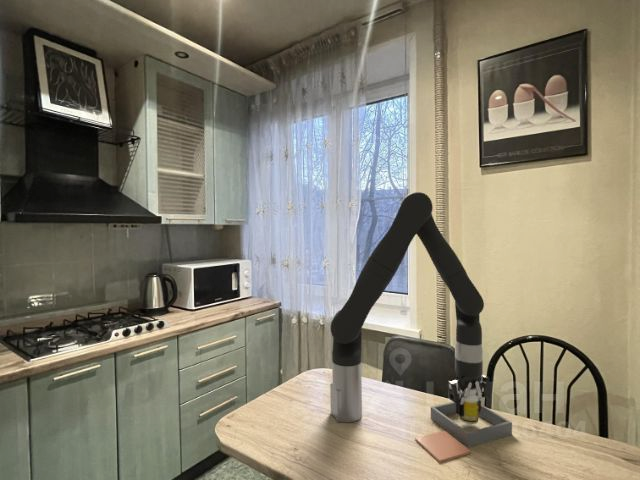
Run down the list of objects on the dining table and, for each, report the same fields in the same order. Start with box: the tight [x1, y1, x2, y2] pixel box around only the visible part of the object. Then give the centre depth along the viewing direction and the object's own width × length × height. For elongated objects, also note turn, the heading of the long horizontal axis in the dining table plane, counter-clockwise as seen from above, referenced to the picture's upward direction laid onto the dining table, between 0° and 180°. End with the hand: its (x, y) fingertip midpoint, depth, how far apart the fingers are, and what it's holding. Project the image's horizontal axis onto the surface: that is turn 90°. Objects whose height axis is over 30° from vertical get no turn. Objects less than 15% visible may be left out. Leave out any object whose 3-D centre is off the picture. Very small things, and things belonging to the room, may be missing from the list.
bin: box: [430, 401, 513, 448], centre depth 102 cm, size 16×16×4 cm
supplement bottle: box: [458, 388, 479, 425], centre depth 102 cm, size 5×5×10 cm
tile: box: [415, 429, 472, 463], centre depth 92 cm, size 10×10×1 cm
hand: (468, 413), depth 102 cm, fingers closed on supplement bottle, 5 cm apart
